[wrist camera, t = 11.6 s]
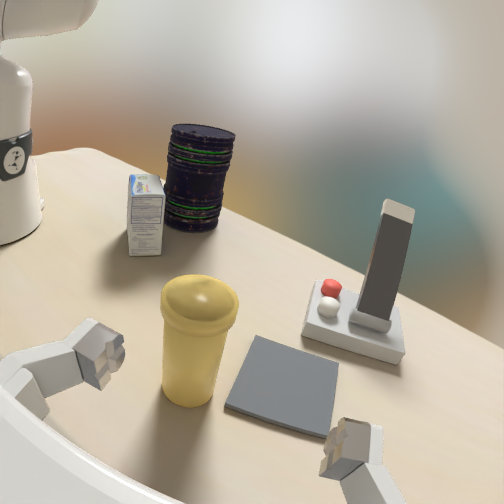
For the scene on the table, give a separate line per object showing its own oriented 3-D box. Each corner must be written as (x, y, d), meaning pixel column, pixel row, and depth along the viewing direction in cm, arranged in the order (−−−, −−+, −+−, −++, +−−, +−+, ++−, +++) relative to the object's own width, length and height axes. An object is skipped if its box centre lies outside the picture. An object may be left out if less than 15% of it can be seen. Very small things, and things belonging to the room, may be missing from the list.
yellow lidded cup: (148, 394, 23) (146, 304, 18) (174, 355, 27) (183, 266, 22) (203, 419, 22) (222, 337, 17) (224, 377, 26) (248, 290, 22)
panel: (300, 335, 33) (310, 313, 32) (311, 291, 41) (319, 271, 40) (396, 365, 32) (410, 345, 30) (392, 318, 39) (402, 300, 38)
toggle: (350, 321, 32) (384, 196, 36) (347, 321, 34) (380, 201, 37) (388, 333, 32) (418, 210, 35) (384, 333, 33) (413, 214, 36)
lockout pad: (224, 406, 24) (225, 402, 23) (254, 338, 31) (255, 334, 31) (325, 438, 22) (328, 435, 22) (336, 366, 30) (338, 362, 30)
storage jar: (182, 201, 57) (195, 122, 50) (228, 219, 55) (246, 135, 47) (147, 218, 49) (157, 126, 41) (198, 239, 46) (215, 140, 39)
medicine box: (161, 256, 40) (167, 195, 36) (128, 257, 39) (130, 194, 34) (154, 228, 46) (160, 174, 42) (126, 228, 45) (129, 173, 40)
